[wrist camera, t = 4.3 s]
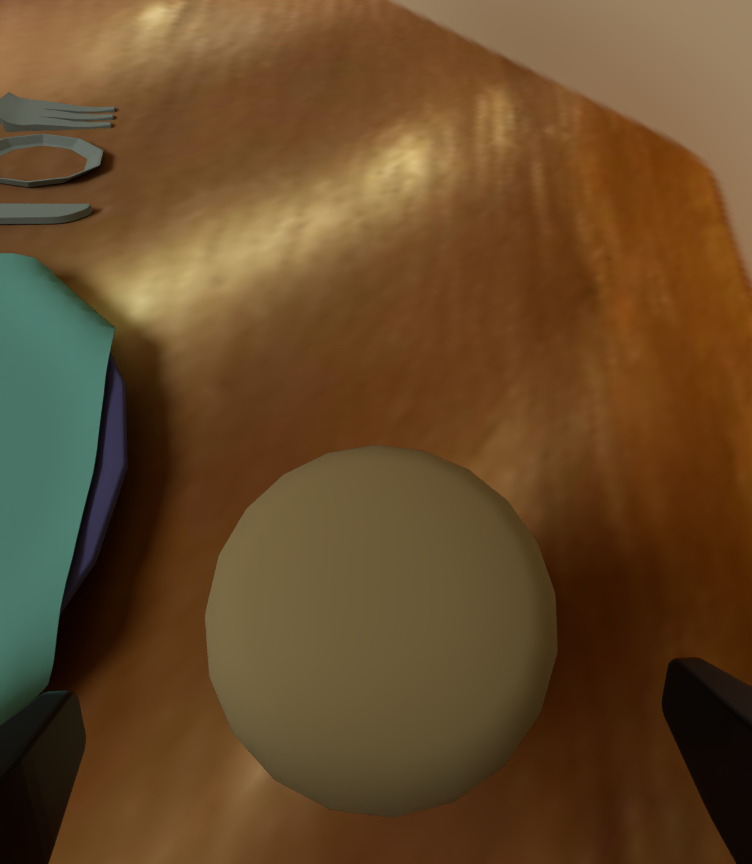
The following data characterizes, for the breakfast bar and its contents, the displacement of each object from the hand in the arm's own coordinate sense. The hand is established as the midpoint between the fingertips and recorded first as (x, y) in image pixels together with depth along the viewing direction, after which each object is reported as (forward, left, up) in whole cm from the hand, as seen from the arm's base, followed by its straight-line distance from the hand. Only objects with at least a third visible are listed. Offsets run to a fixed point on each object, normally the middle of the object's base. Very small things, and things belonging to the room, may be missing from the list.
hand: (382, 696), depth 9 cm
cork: (+1, -1, -9) cm, 9 cm away
